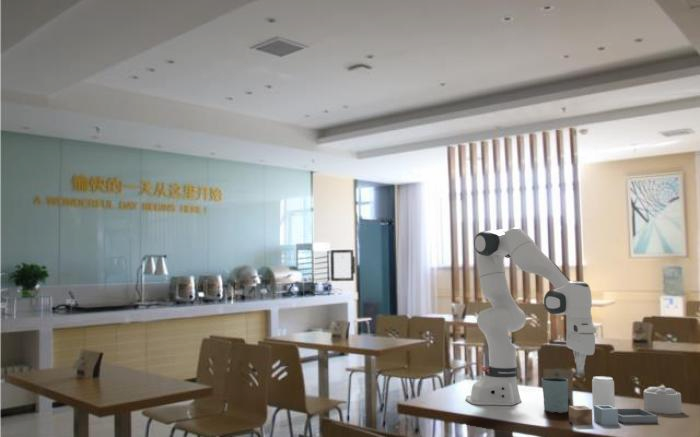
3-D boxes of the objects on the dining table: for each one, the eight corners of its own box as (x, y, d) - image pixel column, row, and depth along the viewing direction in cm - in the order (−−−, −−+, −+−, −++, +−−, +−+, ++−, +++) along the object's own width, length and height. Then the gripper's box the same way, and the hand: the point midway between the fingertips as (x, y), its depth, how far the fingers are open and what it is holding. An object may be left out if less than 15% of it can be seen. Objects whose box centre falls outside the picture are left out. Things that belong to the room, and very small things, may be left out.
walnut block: (576, 425, 221) (575, 409, 222) (568, 421, 227) (568, 405, 228) (592, 425, 222) (592, 409, 222) (584, 420, 228) (584, 405, 228)
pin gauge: (585, 376, 226) (584, 351, 226) (577, 376, 226) (577, 351, 226) (582, 374, 228) (582, 350, 229) (575, 374, 228) (575, 350, 229)
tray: (622, 423, 223) (622, 416, 223) (606, 415, 235) (606, 408, 235) (657, 423, 224) (657, 415, 224) (640, 415, 236) (639, 408, 236)
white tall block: (616, 411, 242) (615, 379, 243) (594, 410, 244) (593, 379, 245) (612, 406, 250) (611, 376, 251) (591, 405, 252) (590, 375, 253)
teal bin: (565, 414, 238) (564, 382, 238) (539, 411, 243) (538, 379, 244) (571, 409, 246) (571, 378, 247) (545, 406, 251) (545, 375, 252)
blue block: (602, 425, 222) (601, 409, 223) (594, 420, 228) (593, 405, 229) (618, 424, 223) (617, 408, 223) (610, 420, 229) (609, 405, 229)
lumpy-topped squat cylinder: (645, 406, 251) (645, 384, 252) (682, 409, 245) (681, 387, 246) (643, 411, 242) (642, 388, 243) (681, 415, 236) (680, 392, 237)
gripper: (561, 322, 239) (562, 359, 238) (579, 328, 218) (580, 368, 217) (578, 322, 239) (578, 359, 238) (598, 328, 218) (598, 368, 217)
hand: (579, 364), depth 227 cm, fingers closed on pin gauge, 3 cm apart
